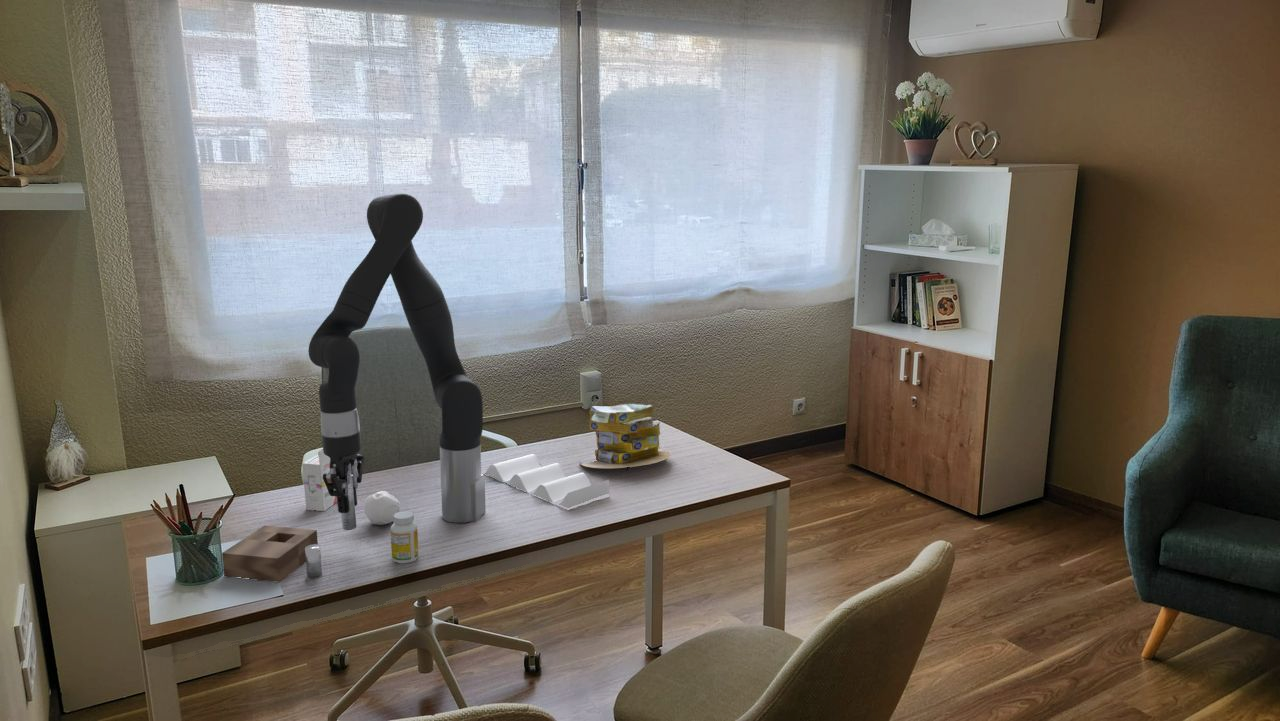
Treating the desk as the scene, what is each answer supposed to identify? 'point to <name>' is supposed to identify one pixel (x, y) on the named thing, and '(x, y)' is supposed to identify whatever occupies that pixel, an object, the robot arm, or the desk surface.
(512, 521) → the desk surface
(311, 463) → the ink cartridge box
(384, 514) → the motion sensor
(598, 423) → the stack of yellow boxes
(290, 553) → the socket block
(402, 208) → the robot arm
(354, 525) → the long pin
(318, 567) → the short pin
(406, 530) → the supplement bottle
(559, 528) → the desk surface
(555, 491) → the white wavy rack
